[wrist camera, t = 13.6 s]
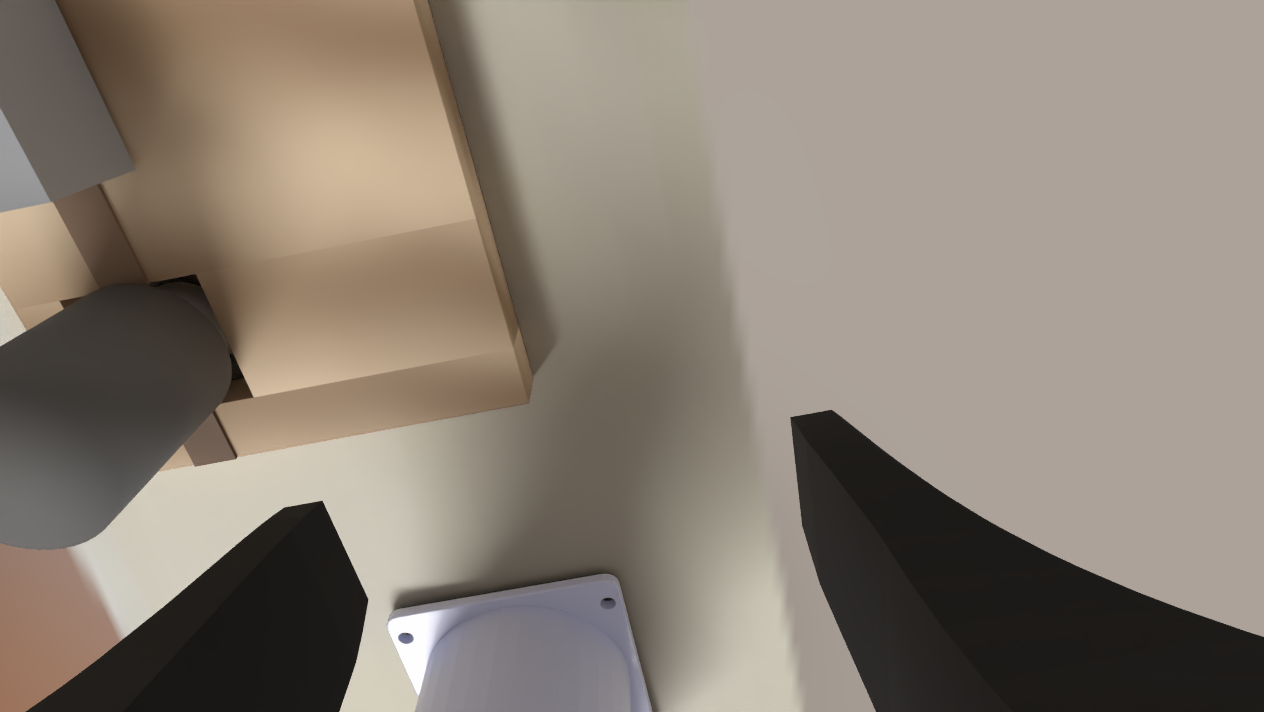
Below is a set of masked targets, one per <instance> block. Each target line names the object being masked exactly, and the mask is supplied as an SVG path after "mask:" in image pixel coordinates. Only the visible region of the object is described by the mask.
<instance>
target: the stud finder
mask: <svg viewBox="0 0 1264 712" xmlns="http://www.w3.org/2000/svg"><path fill="white" fill-rule="evenodd" d="M134 170H136V169H135V166H134V164H133V162H132V160H131V158H130V156H129V154H128V152H127V150H126V148H125V146H124V143H123V141H122V139H121V137H120V135H119V133H118V131H117V129H116V127H115V125H114V123H113V120H112V118H111V116H110V114H109V112H108V110H107V108H106V106H105V104H104V102H103V100H102V97H101V95H100V93H99V91H98V89H97V87H96V85H95V83H94V81H93V79H92V77H91V74H90V72H89V70H88V68H87V66H86V64H85V62H84V60H83V58H82V56H81V53H80V51H79V49H78V47H77V45H76V43H75V41H74V39H73V37H72V35H71V33H70V30H69V28H68V26H67V24H66V22H65V20H64V18H63V16H62V14H61V12H60V10H59V7H58V5H57V3H56V1H55V0H0V213H1V212H6V211H11V210H16V209H21V208H26V207H31V206H35V205H40V204H45V203H50V202H53V201H56V200H58V199H61V198H64V197H66V196H69V195H71V194H74V193H76V192H79V191H82V190H84V189H87V188H89V187H92V186H95V185H97V184H100V183H102V182H105V181H108V180H110V179H113V178H115V177H118V176H121V175H123V174H126V173H128V172H131V171H134Z"/></svg>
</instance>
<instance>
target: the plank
mask: <svg viewBox="0 0 1264 712" xmlns="http://www.w3.org/2000/svg"><path fill="white" fill-rule="evenodd" d="M55 1H56V3H57V5H58V7H59V10H60V12H61V14H62V16H63V18H64V20H65V22H66V24H67V26H68V28H69V30H70V33H71V35H72V37H73V39H74V41H75V43H76V45H77V47H78V49H79V51H80V53H81V56H82V58H83V60H84V62H85V64H86V66H87V68H88V70H89V72H90V74H91V77H92V79H93V81H94V83H95V85H96V87H97V89H98V91H99V93H100V95H101V97H102V100H103V102H104V104H105V106H106V108H107V110H108V112H109V114H110V116H111V118H112V120H113V123H114V125H115V127H116V129H117V131H118V133H119V135H120V137H121V139H122V141H123V143H124V146H125V148H126V150H127V152H128V154H129V156H130V158H131V160H132V162H133V164H134V166H135V169H136V170H134V171H131V172H128V173H126V174H123V175H121V176H118V177H115V178H113V179H110V180H108V181H105V182H102V183H100V184H97V185H95V186H92V187H89V188H87V189H84V190H82V191H79V192H76V193H74V194H71V195H69V196H66V197H64V198H61V199H58V200H56V201H53V202H50V203H45V204H40V205H35V206H31V207H26V208H21V209H16V210H11V211H6V212H1V213H0V287H1V288H2V290H3V292H4V293H5V295H6V297H7V298H8V300H9V302H10V303H11V305H12V307H13V308H14V310H15V312H16V313H17V315H18V317H19V318H20V320H21V322H22V323H23V325H24V327H25V328H26V330H27V331H28V330H29V329H31V328H33V327H34V326H36V325H38V324H39V323H41V322H43V321H44V320H46V319H48V318H50V317H51V316H53V315H55V314H56V313H58V312H60V311H61V310H63V309H65V308H66V307H68V306H70V305H71V304H73V303H75V302H77V301H78V300H80V299H82V298H83V297H85V296H87V295H88V294H90V293H92V292H93V291H96V290H98V289H100V288H103V287H107V286H110V285H116V284H141V285H147V284H149V283H152V282H157V281H162V280H167V279H173V278H178V277H183V276H188V275H193V274H196V276H197V278H198V280H199V282H200V284H201V287H202V289H203V291H204V293H205V295H206V297H207V299H208V301H209V303H210V306H211V308H212V310H213V312H214V314H215V316H216V318H217V320H218V323H219V325H220V327H221V329H222V331H223V333H224V335H225V337H226V339H227V342H228V344H229V346H230V348H231V350H232V352H233V354H234V356H235V359H236V361H237V363H238V365H239V367H240V369H241V371H242V373H243V376H244V378H242V379H237V380H232V381H231V383H230V387H229V390H228V392H227V395H226V396H225V398H224V399H223V401H222V402H221V404H220V405H219V406H218V407H217V408H216V409H215V410H214V411H213V412H212V413H211V414H210V416H209V417H208V418H207V419H206V420H205V421H204V422H203V423H202V424H201V425H200V426H199V427H198V429H197V430H196V431H195V432H194V433H193V434H192V435H191V436H190V437H189V438H188V439H187V441H186V442H185V443H184V444H183V445H182V446H181V447H180V448H179V449H178V450H177V451H176V452H175V454H174V455H173V456H172V457H171V458H170V459H169V460H168V461H167V462H166V463H165V464H164V465H163V467H162V468H161V469H160V470H159V471H165V470H170V469H175V468H181V467H186V466H192V465H194V466H201V465H206V464H212V463H217V462H223V461H228V460H233V459H236V458H237V457H240V456H246V455H251V454H257V453H262V452H267V451H273V450H278V449H284V448H289V447H294V446H300V445H305V444H311V443H316V442H322V441H327V440H332V439H338V438H343V437H349V436H354V435H359V434H365V433H370V432H376V431H381V430H386V429H392V428H397V427H403V426H408V425H414V424H419V423H424V422H430V421H435V420H441V419H446V418H451V417H457V416H462V415H468V414H473V413H478V412H484V411H489V410H495V409H500V408H505V407H511V406H516V405H522V404H527V403H529V400H530V394H531V388H532V383H533V375H532V372H531V368H530V364H529V361H528V357H527V354H526V350H525V347H524V343H523V339H522V336H521V332H520V329H519V325H518V322H517V318H516V314H515V311H514V307H513V304H512V300H511V296H510V293H509V289H508V286H507V282H506V279H505V275H504V271H503V268H502V264H501V261H500V257H499V254H498V250H497V246H496V243H495V239H494V236H493V232H492V229H491V225H490V221H489V218H488V214H487V211H486V207H485V204H484V200H483V196H482V193H481V189H480V186H479V182H478V178H477V175H476V171H475V168H474V164H473V161H472V157H471V153H470V150H469V146H468V143H467V139H466V136H465V132H464V128H463V125H462V121H461V118H460V114H459V111H458V107H457V103H456V100H455V96H454V93H453V89H452V85H451V82H450V78H449V75H448V71H447V68H446V64H445V60H444V57H443V53H442V50H441V46H440V43H439V39H438V35H437V32H436V28H435V25H434V21H433V18H432V14H431V10H430V7H429V3H428V0H55ZM159 471H158V472H159Z"/></svg>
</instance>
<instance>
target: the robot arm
mask: <svg viewBox="0 0 1264 712" xmlns="http://www.w3.org/2000/svg"><path fill="white" fill-rule="evenodd" d="M791 426H792V435H793V445H794V454H795V463H796V472H797V482H798V491H799V500H800V509H801V517H802V526H803V529H804V533H805V536H806V540H807V542H808V546H809V550H810V553H811V556H812V560H813V562H814V565H815V569H816V572H817V576H818V579H819V582H820V585H821V587H822V590H823V592H824V594H825V597H826V599H827V601H828V604H829V606H830V608H831V610H832V612H833V615H834V617H835V620H836V622H837V624H838V627H839V629H840V631H841V633H842V636H843V638H844V640H845V642H846V645H847V647H848V649H849V651H850V653H851V656H852V658H853V660H854V663H855V665H856V667H857V669H858V672H859V674H860V676H861V679H862V681H863V683H864V685H865V687H866V689H867V692H868V694H869V697H870V699H871V701H872V703H873V706H874V708H875V710H876V712H1264V637H1262V636H1259V635H1255V634H1252V633H1249V632H1246V631H1243V630H1240V629H1237V628H1235V627H1232V626H1229V625H1226V624H1223V623H1220V622H1217V621H1214V620H1212V619H1209V618H1206V617H1203V616H1200V615H1197V614H1194V613H1191V612H1189V611H1186V610H1183V609H1180V608H1177V607H1175V606H1172V605H1169V604H1167V603H1164V602H1162V601H1159V600H1156V599H1154V598H1151V597H1149V596H1146V595H1143V594H1141V593H1138V592H1136V591H1133V590H1131V589H1129V588H1126V587H1124V586H1122V585H1119V584H1117V583H1115V582H1112V581H1110V580H1108V579H1105V578H1103V577H1101V576H1098V575H1096V574H1094V573H1091V572H1089V571H1087V570H1084V569H1082V568H1080V567H1077V566H1075V565H1073V564H1071V563H1069V562H1067V561H1065V560H1063V559H1060V558H1058V557H1056V556H1054V555H1052V554H1050V553H1048V552H1046V551H1044V550H1042V549H1040V548H1038V547H1036V546H1034V545H1032V544H1031V543H1029V542H1027V541H1025V540H1022V539H1021V538H1019V537H1017V536H1015V535H1013V534H1011V533H1009V532H1007V531H1005V530H1004V529H1002V528H1000V527H998V526H996V525H995V524H993V523H991V522H989V521H988V520H986V519H984V518H982V517H981V516H979V515H977V514H976V513H974V512H972V511H970V510H969V509H968V508H966V507H964V506H962V505H961V504H960V503H958V502H956V501H955V500H953V499H951V498H950V497H948V496H947V495H945V494H944V493H942V492H941V491H939V490H938V489H936V488H935V487H933V486H932V485H930V484H929V483H928V482H926V481H925V480H923V479H922V478H921V477H919V476H918V475H916V474H915V473H914V472H912V471H911V470H909V469H908V468H906V467H905V466H904V465H902V464H901V463H900V462H898V461H897V460H895V459H894V458H893V457H892V456H890V455H889V454H888V453H886V452H885V451H883V450H882V449H881V448H880V447H878V446H877V445H876V444H875V443H873V442H872V441H871V440H870V439H868V438H867V437H866V436H864V435H863V434H862V433H861V432H859V431H858V430H857V429H856V428H854V427H853V426H852V425H851V424H849V423H848V422H847V421H846V420H844V419H843V418H842V417H841V416H839V415H838V414H837V413H835V412H834V411H832V410H828V411H823V412H817V413H812V414H806V415H801V416H795V417H791ZM604 598H612V599H613V600H610V601H605V600H603V599H604ZM367 604H368V598H367V596H366V593H365V591H364V589H363V587H362V585H361V583H360V581H359V578H358V576H357V574H356V572H355V570H354V568H353V565H352V563H351V561H350V559H349V557H348V555H347V553H346V550H345V548H344V546H343V544H342V542H341V540H340V538H339V535H338V533H337V531H336V529H335V527H334V525H333V523H332V520H331V518H330V516H329V514H328V512H327V510H326V508H325V505H324V503H323V501H319V502H313V503H308V504H302V505H297V506H291V507H285V508H283V509H282V510H280V511H279V512H278V513H276V514H275V515H273V516H272V517H271V518H269V519H268V520H267V521H265V522H264V523H263V524H261V525H260V526H259V527H258V528H256V529H255V530H254V531H253V532H252V533H250V534H249V535H248V536H247V537H245V538H244V539H243V540H242V541H241V542H239V543H238V544H237V545H236V546H235V547H234V548H232V549H231V550H230V551H229V552H228V553H226V554H225V555H224V556H223V557H222V558H221V559H219V560H218V561H217V562H216V563H215V564H214V565H212V566H211V567H210V568H209V569H208V570H207V571H205V572H204V573H203V574H202V575H201V576H199V577H198V578H197V579H196V580H195V581H194V582H192V583H191V584H190V585H189V586H188V587H187V588H185V589H184V590H183V591H182V592H181V593H179V594H178V595H177V596H176V597H175V598H174V599H172V600H171V601H170V602H169V603H168V604H166V605H165V606H164V607H163V608H162V609H160V610H159V611H158V612H157V613H155V614H154V615H153V616H152V617H150V618H149V619H148V620H147V621H145V622H144V623H143V624H142V625H140V626H139V627H138V628H137V629H135V630H134V631H133V632H132V633H130V634H129V635H128V636H127V637H125V638H124V639H123V640H122V641H120V642H119V643H118V644H117V645H115V646H114V647H113V648H112V649H111V650H109V651H108V652H107V653H105V654H104V655H103V656H102V657H100V659H98V660H97V661H95V662H94V663H93V664H91V665H90V666H89V667H87V668H86V669H85V670H83V671H82V672H81V673H79V674H78V675H77V676H75V677H74V678H73V679H71V680H70V681H69V682H67V683H66V684H65V685H63V686H62V687H60V688H59V689H58V690H56V691H55V692H53V693H52V694H51V695H49V696H48V697H46V698H45V699H44V700H42V701H41V702H39V703H38V704H36V705H35V706H33V707H32V708H30V709H29V710H28V711H26V712H339V711H340V708H341V705H342V702H343V699H344V696H345V693H346V690H347V688H348V685H349V682H350V679H351V676H352V673H353V670H354V667H355V663H356V660H357V655H358V651H359V646H360V641H361V637H362V632H363V626H364V621H365V615H366V610H367ZM387 629H388V632H389V634H390V636H391V638H392V640H393V643H394V645H395V647H396V649H397V651H398V654H399V656H400V658H401V660H402V662H403V665H404V667H405V669H406V671H407V674H408V676H409V678H410V680H411V682H412V685H413V687H414V689H415V691H416V693H417V696H418V701H417V705H416V709H415V712H653V711H652V707H651V703H650V699H649V695H648V692H647V688H646V684H645V680H644V676H643V672H642V668H641V664H640V660H639V657H638V653H637V649H636V645H635V641H634V637H633V633H632V629H631V625H630V622H629V618H628V614H627V610H626V606H625V602H624V598H623V594H622V590H621V587H620V583H619V581H618V579H617V578H616V577H615V576H613V575H610V574H598V575H592V576H587V577H581V578H575V579H569V580H564V581H558V582H552V583H546V584H540V585H535V586H529V587H523V588H517V589H511V590H506V591H500V592H494V593H488V594H483V595H477V596H471V597H465V598H459V599H454V600H448V601H442V602H436V603H430V604H425V605H419V606H413V607H407V608H402V609H397V610H395V611H393V612H392V613H391V614H390V616H389V619H388V622H387ZM403 632H406V633H410V634H412V635H406V634H404V633H403Z"/></svg>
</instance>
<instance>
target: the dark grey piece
mask: <svg viewBox="0 0 1264 712" xmlns="http://www.w3.org/2000/svg"><path fill="white" fill-rule="evenodd" d="M231 353H232V350H231V348H230V346H229V344H228V342H227V339H226V337H225V335H224V333H223V331H222V329H221V327H220V325H219V323H218V320H217V318H216V316H215V314H214V312H213V310H212V308H211V306H210V303H209V301H208V299H207V297H206V295H205V293H204V291H203V289H202V287H199V286H196V285H194V284H189V283H183V282H171V283H166V284H162V285H159V286H157V287H152V286H147V285H141V284H116V285H110V286H107V287H103V288H100V289H98V290H96V291H93V292H92V293H90V294H88V295H87V296H85V297H83V298H82V299H80V300H78V301H77V302H75V303H73V304H71V305H70V306H68V307H66V308H65V309H63V310H61V311H60V312H58V313H56V314H55V315H53V316H51V317H50V318H48V319H46V320H44V321H43V322H41V323H39V324H38V325H36V326H34V327H33V328H31V329H29V330H28V331H26V332H24V333H22V334H21V335H19V336H17V337H16V338H14V339H12V340H11V341H9V342H7V343H6V344H4V345H2V346H1V347H0V543H2V544H6V545H10V546H14V547H19V548H25V549H36V550H50V549H52V550H53V549H61V548H67V547H71V546H75V545H78V544H81V543H84V542H86V541H88V540H90V539H92V538H94V537H95V536H97V535H98V534H99V533H101V532H102V531H103V530H104V529H105V528H106V527H107V526H108V525H109V524H110V523H111V522H112V521H113V520H114V519H115V517H116V516H117V515H118V514H119V513H120V512H121V511H122V510H123V509H124V508H125V507H126V506H127V504H128V503H129V502H130V501H131V500H132V499H133V498H134V497H135V496H136V495H137V494H138V493H139V491H140V490H141V489H142V488H143V487H144V486H145V485H146V484H147V483H148V482H149V481H150V480H151V478H152V477H153V476H154V475H155V474H156V473H157V472H158V471H159V470H160V469H161V468H162V467H163V465H164V464H165V463H166V462H167V461H168V460H169V459H170V458H171V457H172V456H173V455H174V454H175V452H176V451H177V450H178V449H179V448H180V447H181V446H182V445H183V444H184V443H185V442H186V441H187V439H188V438H189V437H190V436H191V435H192V434H193V433H194V432H195V431H196V430H197V429H198V427H199V426H200V425H201V424H202V423H203V422H204V421H205V420H206V419H207V418H208V417H209V416H210V414H211V413H212V412H213V411H214V410H215V409H216V408H217V407H218V406H219V405H220V404H221V402H222V401H223V399H224V398H225V396H226V395H227V392H228V390H229V387H230V383H231V377H232V367H231V359H230V354H231Z"/></svg>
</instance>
